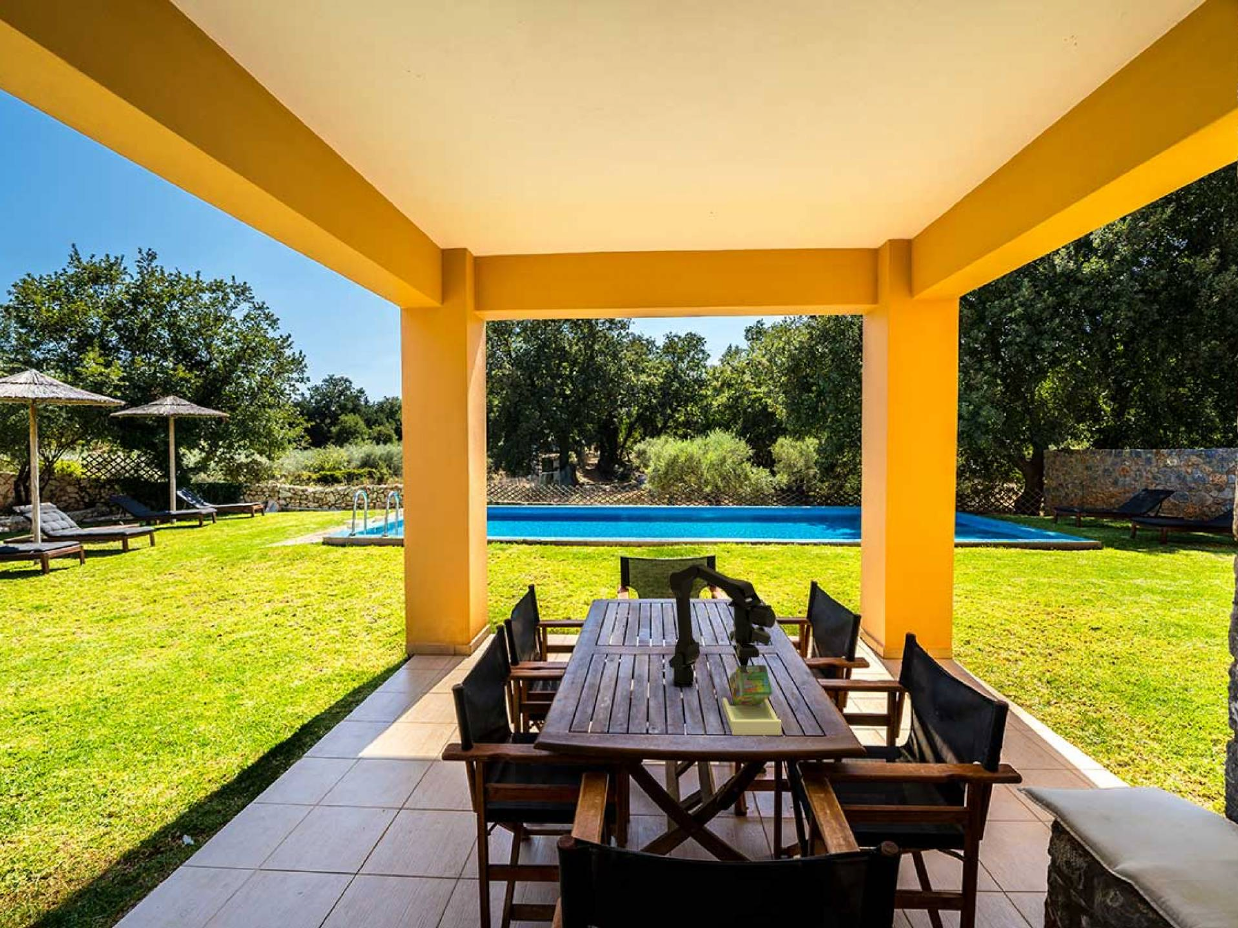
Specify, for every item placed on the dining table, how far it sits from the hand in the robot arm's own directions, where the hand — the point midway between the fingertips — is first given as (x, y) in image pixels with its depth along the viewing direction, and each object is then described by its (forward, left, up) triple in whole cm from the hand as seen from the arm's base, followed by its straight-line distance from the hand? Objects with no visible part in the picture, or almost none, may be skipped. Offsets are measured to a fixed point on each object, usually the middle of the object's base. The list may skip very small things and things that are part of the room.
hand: (744, 670), depth 188 cm
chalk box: (+1, +2, -8) cm, 8 cm away
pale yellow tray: (0, -9, -12) cm, 15 cm away
